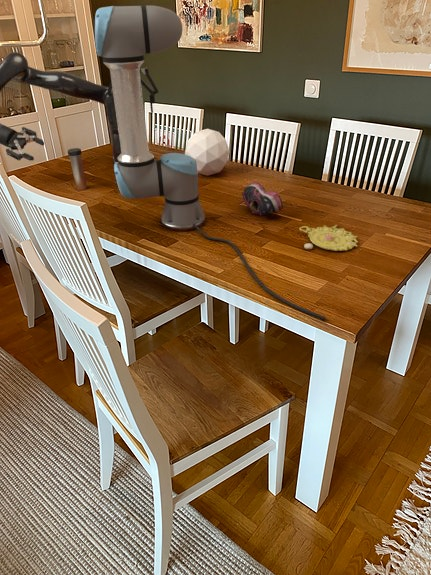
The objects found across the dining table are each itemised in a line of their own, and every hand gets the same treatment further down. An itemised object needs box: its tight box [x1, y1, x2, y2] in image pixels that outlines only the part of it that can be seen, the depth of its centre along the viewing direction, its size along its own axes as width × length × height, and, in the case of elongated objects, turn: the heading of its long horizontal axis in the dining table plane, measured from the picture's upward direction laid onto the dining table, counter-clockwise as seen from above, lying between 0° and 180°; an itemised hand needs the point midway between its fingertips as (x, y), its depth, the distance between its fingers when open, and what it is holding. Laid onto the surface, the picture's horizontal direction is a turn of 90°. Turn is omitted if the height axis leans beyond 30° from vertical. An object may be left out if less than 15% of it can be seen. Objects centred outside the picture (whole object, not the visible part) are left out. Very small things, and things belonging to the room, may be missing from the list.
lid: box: [67, 147, 82, 157], centre depth 180 cm, size 5×5×2 cm
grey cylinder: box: [69, 154, 88, 191], centre depth 184 cm, size 4×4×16 cm
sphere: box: [184, 128, 231, 177], centre depth 195 cm, size 19×20×20 cm
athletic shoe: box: [238, 182, 284, 217], centre depth 160 cm, size 11×22×12 cm
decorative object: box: [299, 224, 359, 252], centre depth 141 cm, size 21×2×20 cm
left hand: (38, 151), depth 182 cm, fingers open, 8 cm apart
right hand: (135, 113), depth 181 cm, fingers open, 13 cm apart
